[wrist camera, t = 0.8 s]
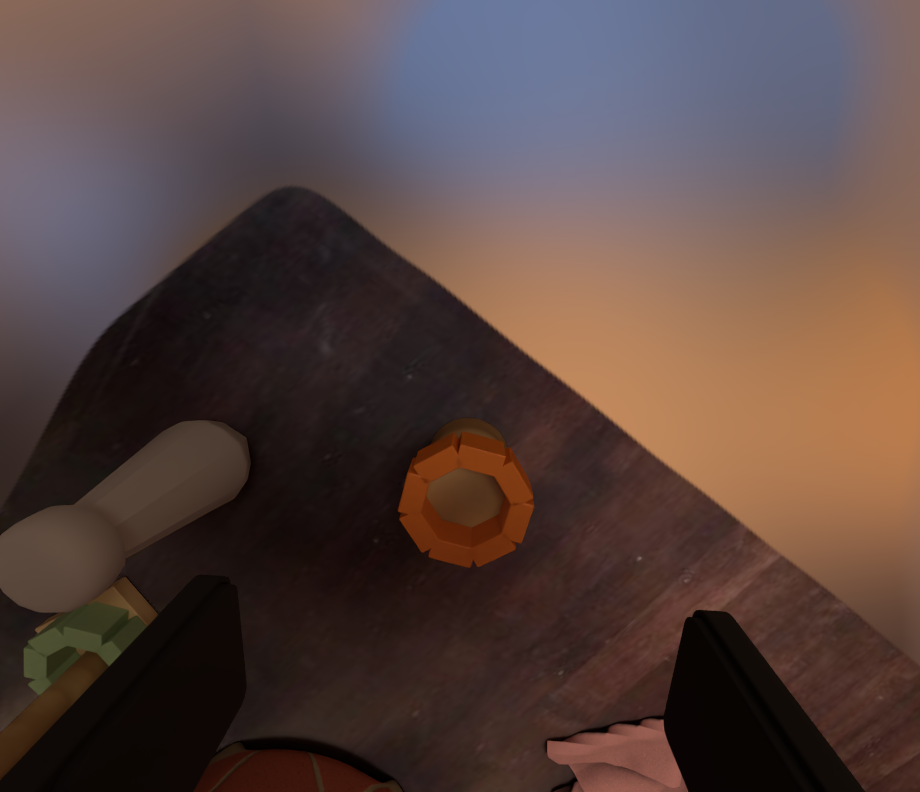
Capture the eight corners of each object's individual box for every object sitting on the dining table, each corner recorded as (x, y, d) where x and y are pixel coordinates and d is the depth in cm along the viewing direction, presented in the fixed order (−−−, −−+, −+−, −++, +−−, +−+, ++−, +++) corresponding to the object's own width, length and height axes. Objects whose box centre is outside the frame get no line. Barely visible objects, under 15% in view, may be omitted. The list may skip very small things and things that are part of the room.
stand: (414, 440, 29) (401, 473, 24) (483, 403, 28) (484, 429, 23) (454, 503, 30) (449, 546, 25) (521, 469, 29) (530, 507, 24)
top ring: (384, 468, 24) (375, 485, 22) (490, 412, 23) (491, 424, 21) (445, 561, 25) (442, 584, 23) (547, 512, 24) (554, 532, 22)
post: (49, 617, 34) (-124, 754, 24) (125, 575, 32) (-25, 702, 23) (117, 690, 35) (-19, 845, 26) (193, 653, 34) (80, 802, 24)
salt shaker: (204, 392, 28) (-14, 482, 16) (279, 442, 29) (129, 566, 16) (165, 458, 30) (-64, 590, 17) (237, 505, 30) (69, 664, 18)
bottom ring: (33, 630, 32) (-1, 656, 30) (112, 586, 31) (83, 611, 29) (105, 704, 34) (78, 735, 32) (183, 666, 33) (160, 695, 30)
